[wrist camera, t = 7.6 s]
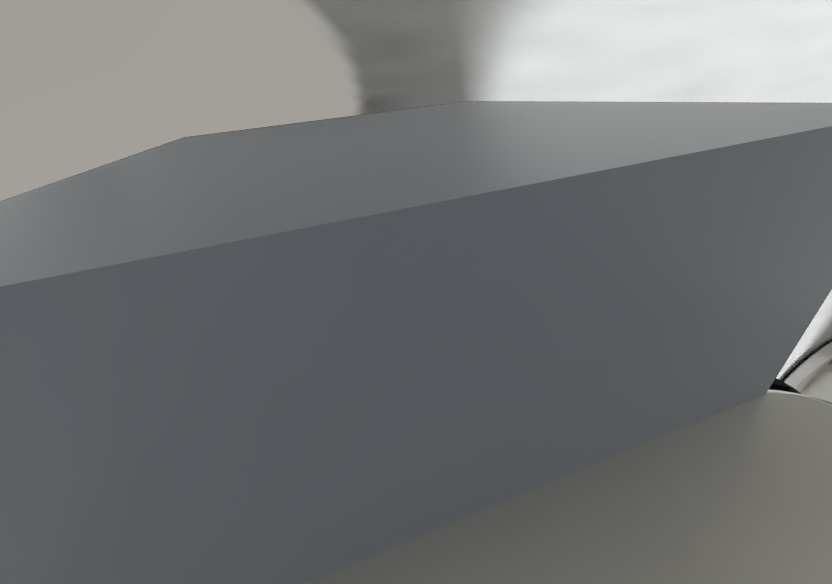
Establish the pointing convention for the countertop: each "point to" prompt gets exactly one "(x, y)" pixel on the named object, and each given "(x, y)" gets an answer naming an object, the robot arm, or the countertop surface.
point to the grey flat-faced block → (385, 324)
